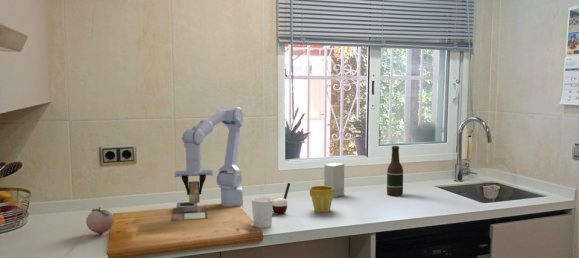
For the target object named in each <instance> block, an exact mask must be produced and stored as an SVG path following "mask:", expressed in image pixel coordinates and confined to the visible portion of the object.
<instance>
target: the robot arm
mask: <svg viewBox="0 0 579 258" xmlns="http://www.w3.org/2000/svg"><path fill="white" fill-rule="evenodd" d="M244 114H245V113H244V111H243V110H242V108H241V107H239V106H233V107H232V106H231V107H230V106H229V107H228V106H221V107H219V108H217V110H216V112H215V113H214V114H213V115H212V116H210V117H209V118H208V119H201V120H200V121H199V122H198V123H197V124H196V125H194V126H192V127H191V128H190V129H186V130H185V131H184V132H183V133H182V136H181V140H182V142H183V145H184V146H183V147H184V148H185V170H179V171H176V170H175V171H174V178H179V177H181V180H182V182H183V184H184V187H185V190H186V195H187V196H189V177H195V176H197V177H199V178H198V179H199V195H202V190H203V186H204V184H205V181H206V179H207V176H209V177H211V176H213V175H214V174H213V173H214V172H213V169H202V153H201V152H202V151H201V149H202V148H201V144H202V143H203V142H204V139H205V138H206V137H207V136H208V135H209V134H211V133H212V132H213V131H214V127H215V126H217V125H218V124H220V123H222V124H223V125H224V126H225V127H227V128H228V136H227V143H226V150H225V157H224V164H223V165H222V166H221V167H220V168H219V169H218V173H217V175H216V184H217V186H218V187H219V188H220V205H221V206H222V207H237V206H238V207H239V206H241V207H242V208H244V196H243V187H240V186H241V184H242V171H241V169H240V168H239V167H238V166H237V165H238V164H237V163H238V159H239V158H238V157H239V148H240V143H241V135H242V128H243V124H244V123H243V122H244Z"/></svg>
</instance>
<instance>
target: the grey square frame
mask: <svg viewBox="0 0 579 258" xmlns="http://www.w3.org/2000/svg"><path fill="white" fill-rule="evenodd" d="M175 208H176V213H191V212H198V203H189V201H181V202H176V207H175Z"/></svg>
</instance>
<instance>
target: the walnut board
mask: <svg viewBox="0 0 579 258" xmlns="http://www.w3.org/2000/svg"><path fill="white" fill-rule="evenodd" d="M197 206H198V205H197ZM203 212H205V218H204V219H203V220H209V216H208V207H207V205H199V206H198V212H191V213H203ZM184 214H187V213H176V207H172V212H171V217H170V222H181V221H183V222H184V221H186V220H184ZM195 220H196V221H197V220H199V221H200V220H202V219H188V220H187V221H195Z"/></svg>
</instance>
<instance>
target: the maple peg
mask: <svg viewBox="0 0 579 258" xmlns="http://www.w3.org/2000/svg"><path fill="white" fill-rule="evenodd" d="M188 186H189V195H188V202H189V203H197V204H198V203H200V202H201V200H200V194H199V187H200V180H199V181H197V180H193V181H188Z"/></svg>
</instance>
